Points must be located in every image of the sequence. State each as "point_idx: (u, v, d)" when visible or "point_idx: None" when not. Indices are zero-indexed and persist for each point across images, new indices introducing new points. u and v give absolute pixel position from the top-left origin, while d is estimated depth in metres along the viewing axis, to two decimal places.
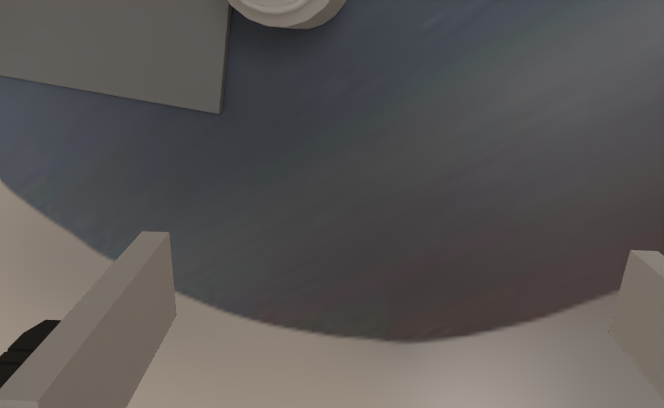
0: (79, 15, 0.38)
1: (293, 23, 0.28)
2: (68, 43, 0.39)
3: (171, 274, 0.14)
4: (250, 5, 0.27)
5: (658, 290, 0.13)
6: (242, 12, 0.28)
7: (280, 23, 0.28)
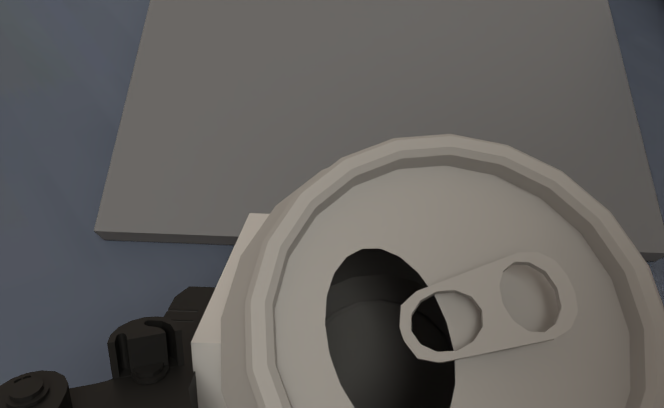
0: (267, 11, 0.24)
1: None
2: None
3: None
4: (267, 254, 0.08)
5: None
6: (256, 238, 0.09)
7: (229, 365, 0.08)
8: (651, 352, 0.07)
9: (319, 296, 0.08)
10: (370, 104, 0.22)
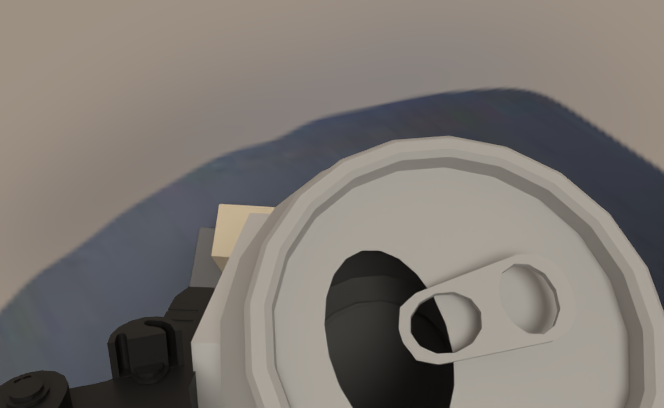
0: None
1: None
2: None
3: None
4: (267, 256, 0.08)
5: None
6: (256, 240, 0.09)
7: (229, 366, 0.08)
8: (650, 354, 0.07)
9: (319, 298, 0.08)
10: None
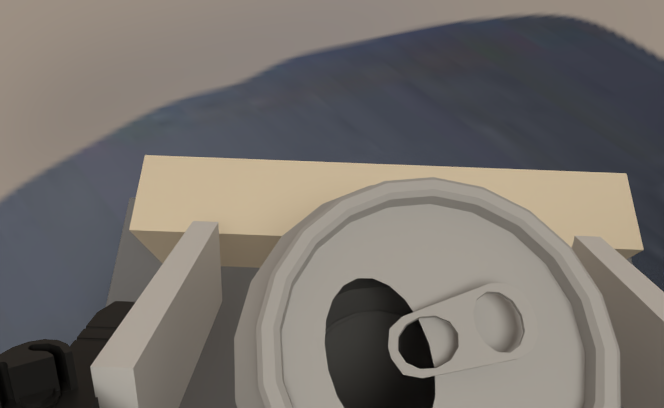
0: None
1: None
2: None
3: (218, 261, 0.15)
4: (275, 285, 0.09)
5: (595, 271, 0.14)
6: (264, 266, 0.10)
7: (242, 378, 0.10)
8: (601, 369, 0.08)
9: (320, 320, 0.09)
10: None
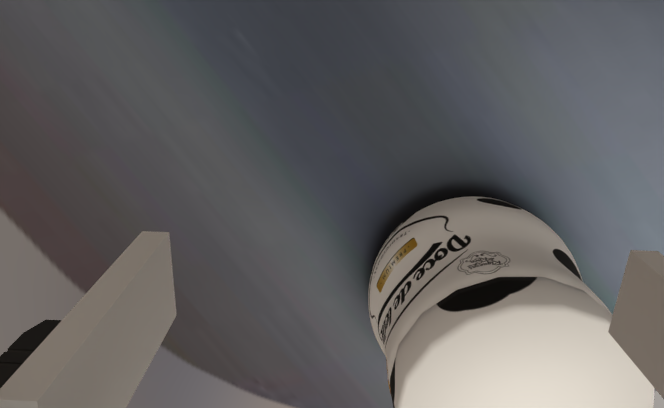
0: None
1: None
2: None
3: (171, 274, 0.14)
4: None
5: (658, 289, 0.13)
6: None
7: None
8: None
9: None
10: None
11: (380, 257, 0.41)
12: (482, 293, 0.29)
